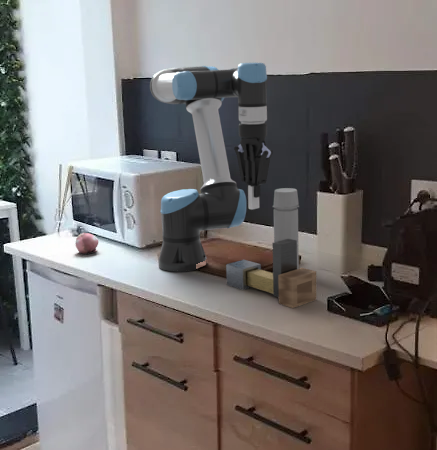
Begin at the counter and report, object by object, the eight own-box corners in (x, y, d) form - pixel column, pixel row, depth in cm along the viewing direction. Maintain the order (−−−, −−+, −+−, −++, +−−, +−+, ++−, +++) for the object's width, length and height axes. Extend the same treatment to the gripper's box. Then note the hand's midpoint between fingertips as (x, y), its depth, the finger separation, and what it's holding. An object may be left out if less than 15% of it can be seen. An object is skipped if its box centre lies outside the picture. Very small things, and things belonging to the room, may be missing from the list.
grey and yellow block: (238, 284, 201) (236, 234, 198) (253, 279, 205) (252, 230, 202) (292, 301, 186) (291, 247, 182) (308, 296, 190) (307, 243, 186)
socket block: (278, 303, 188) (278, 275, 186) (302, 295, 193) (302, 267, 192) (292, 308, 184) (292, 279, 182) (316, 299, 190) (316, 271, 188)
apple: (73, 256, 244) (69, 235, 245) (93, 254, 249) (89, 233, 250) (84, 253, 238) (81, 231, 239) (104, 250, 243) (101, 229, 244)
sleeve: (226, 284, 205) (226, 264, 203) (244, 279, 209) (243, 259, 208) (243, 290, 200) (242, 269, 198) (261, 284, 204) (260, 264, 202)
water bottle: (298, 276, 209) (297, 192, 204) (272, 276, 211) (270, 192, 205) (301, 267, 218) (300, 186, 212) (275, 267, 220) (274, 186, 214)
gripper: (226, 121, 194) (228, 206, 200) (259, 125, 184) (260, 214, 190) (246, 119, 198) (247, 202, 204) (280, 122, 189) (280, 209, 195)
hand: (253, 208), depth 197 cm, fingers closed
